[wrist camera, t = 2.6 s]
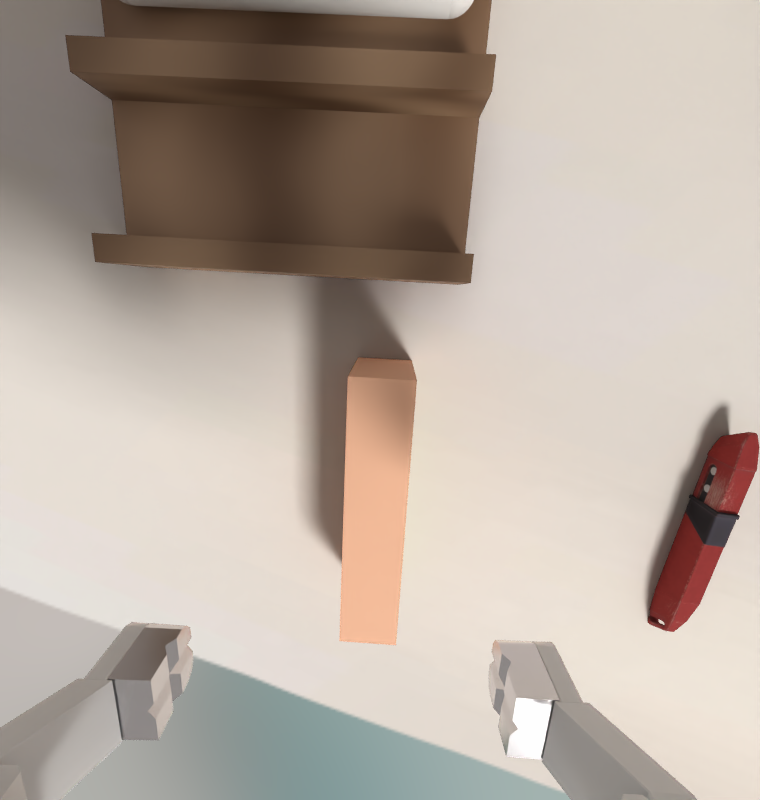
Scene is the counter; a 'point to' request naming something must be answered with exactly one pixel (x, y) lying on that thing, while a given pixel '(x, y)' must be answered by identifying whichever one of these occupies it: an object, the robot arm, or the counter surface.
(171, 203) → the comb board
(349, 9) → the white rounded rod
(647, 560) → the counter surface
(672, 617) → the utility knife
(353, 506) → the peach rectangular block
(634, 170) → the counter surface
